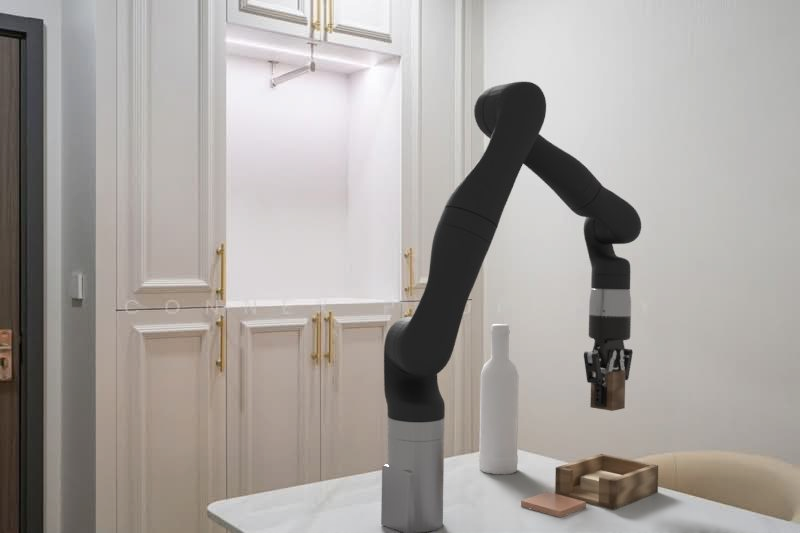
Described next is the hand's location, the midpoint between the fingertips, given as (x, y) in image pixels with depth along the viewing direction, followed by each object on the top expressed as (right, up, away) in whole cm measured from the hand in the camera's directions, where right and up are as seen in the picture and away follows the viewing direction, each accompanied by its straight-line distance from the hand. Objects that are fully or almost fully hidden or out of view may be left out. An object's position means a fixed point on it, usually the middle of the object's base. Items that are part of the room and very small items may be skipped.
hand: (607, 404), depth 142 cm
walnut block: (0, -1, 0) cm, 1 cm away
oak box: (0, -17, 0) cm, 17 cm away
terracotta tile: (-12, -16, -9) cm, 22 cm away
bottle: (-18, -16, +16) cm, 29 cm away
